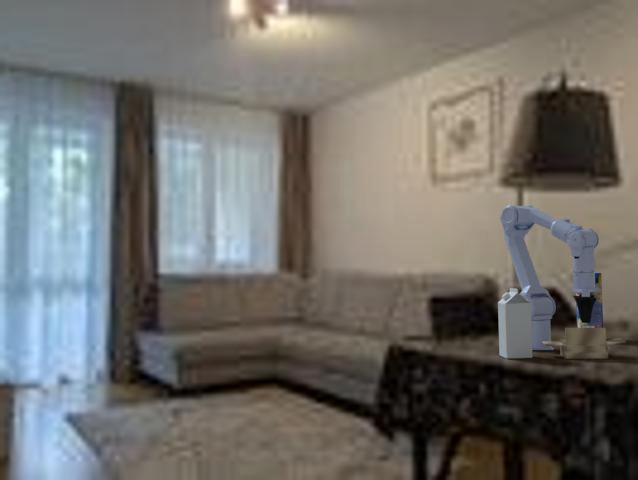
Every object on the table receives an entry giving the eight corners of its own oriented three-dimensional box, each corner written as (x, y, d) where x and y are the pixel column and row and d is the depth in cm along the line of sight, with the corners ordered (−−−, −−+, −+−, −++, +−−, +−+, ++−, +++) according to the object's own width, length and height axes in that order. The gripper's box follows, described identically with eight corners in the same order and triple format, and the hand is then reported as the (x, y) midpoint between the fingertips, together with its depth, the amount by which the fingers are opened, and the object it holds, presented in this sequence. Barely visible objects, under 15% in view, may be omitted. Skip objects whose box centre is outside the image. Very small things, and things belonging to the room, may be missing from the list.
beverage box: (598, 338, 237) (596, 272, 238) (603, 341, 226) (601, 273, 227) (577, 338, 239) (575, 272, 239) (581, 341, 228) (578, 273, 229)
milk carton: (524, 355, 199) (522, 287, 200) (532, 358, 192) (530, 288, 193) (499, 355, 199) (497, 288, 200) (506, 359, 192) (504, 289, 192)
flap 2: (626, 341, 188) (626, 342, 188) (619, 338, 195) (620, 339, 195) (608, 343, 189) (608, 345, 189) (602, 340, 196) (603, 342, 196)
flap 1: (565, 344, 190) (566, 344, 190) (565, 327, 191) (565, 327, 190) (606, 344, 188) (606, 344, 188) (605, 327, 189) (605, 327, 188)
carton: (546, 358, 191) (545, 344, 191) (540, 352, 204) (540, 339, 204) (608, 359, 188) (607, 344, 188) (598, 352, 201) (598, 339, 201)
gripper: (601, 273, 189) (602, 324, 189) (597, 271, 203) (598, 319, 202) (573, 273, 191) (574, 323, 191) (571, 272, 205) (572, 319, 205)
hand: (585, 321), depth 197 cm, fingers open, 7 cm apart
